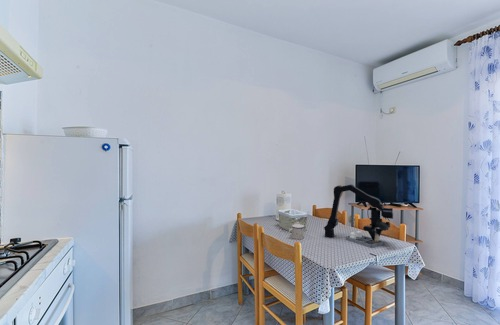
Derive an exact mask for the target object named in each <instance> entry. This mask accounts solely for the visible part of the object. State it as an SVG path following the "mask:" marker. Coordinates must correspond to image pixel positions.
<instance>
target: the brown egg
mask: <svg viewBox="0 0 500 325" xmlns="http://www.w3.org/2000/svg"><path fill="white" fill-rule="evenodd" d="M379 240H380V237H379V235H378V234H377V233H375V240H372V241H373V242H376V243H379Z"/></svg>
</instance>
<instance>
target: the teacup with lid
mask: <svg viewBox="0 0 500 325" xmlns="http://www.w3.org/2000/svg"><path fill="white" fill-rule="evenodd" d="M291 230H292V232H290V231H291ZM288 234H289V235H290V236H291V237H292V239H294V240H303V239H304V238H305V231H304V226H303V225H301V224H299V222H297V223H296V224H294V225H292V229H290V230H289V231H288Z"/></svg>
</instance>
